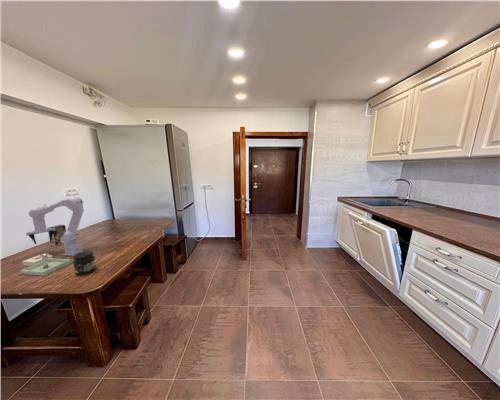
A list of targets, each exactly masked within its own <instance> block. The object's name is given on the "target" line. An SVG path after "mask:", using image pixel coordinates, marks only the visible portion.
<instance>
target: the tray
mask: <svg viewBox="0 0 500 400" xmlns="http://www.w3.org/2000/svg"><path fill="white" fill-rule="evenodd" d="M71 263H72V259H69V258H68V259H67V258H50V259H48V265H49V267H47V268H43V263H42V262H40V263H38V264H35V265H33V266H27V267H25V268H23V269H21V270H20V275H26V276H39V277H43V276H47V275H49V274H51V273H53V272H55V271H57V270H59V269H62V268H63V267H65V266H68V265H70V264H71Z"/></svg>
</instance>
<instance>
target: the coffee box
mask: <svg viewBox="0 0 500 400" xmlns="http://www.w3.org/2000/svg"><path fill="white" fill-rule="evenodd" d="M49 228H55V230H56V231H54V233H53V235H52V241H50V237H49V236H48V238H49V244H50V246H51V247H58V246H59V247H60V246H62V245H64V244H63V243H61V241H60V238H61V237H62V236H63V234H64V233H65V232H66V231H67V228H66V225H65V224H57V225H54V226H50V227H47V229H49ZM47 233H48V234H49V232H47Z"/></svg>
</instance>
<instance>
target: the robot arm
mask: <svg viewBox="0 0 500 400" xmlns="http://www.w3.org/2000/svg"><path fill="white" fill-rule="evenodd" d="M83 204H84V201H83V199H82V198H81V197H80V196H79V197H78V196H76V197H72V198H66V199H62V200H60V201H57V202H55V203H52V204H49V203H47V204H43V206H38V207H36V208H35V209H31V210H29V212H28V215H29V217H31V218H32V221H33V228H34V230H33V231H28V232H25V234H26V235H25V236H26V237H27V236H28V237H29V238H30V239H31V240H32V241H33V243H34V245H37V241H36V237H35V235H38V234H43V233H48V232H49V233H48V238H49V237H50V239H49V242H50V241H52V235H53V233H54V231H56V230H55V228H49V227H48V228H49V229H48V228H47V225H46V220H45V219H46V218H45V217H46V214H49V213H52V212H54V211H55V209H57V208H60V207H66V209H69V210H70V211H71V212H72V216H71V217H70V221H69V223H68V227H67V228H66V232H65V233H64V234H63V236H62V237H61V238H60V241H61V243H63V244H62V245H63V246H64V252H65V253H63V254H62V256H71V257H73V256H74V255H75V254H77V253H80V252H83V251H84V250H83V248H82V244H81V242H78V239H79V231H78V230H79V226H80V222H81V220H82V217H83V214H84V211H85V210H84V205H83Z"/></svg>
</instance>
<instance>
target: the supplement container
mask: <svg viewBox="0 0 500 400" xmlns="http://www.w3.org/2000/svg"><path fill="white" fill-rule="evenodd" d="M82 251H83V252H80V253H77V254H75V255H74V256H72V258H73V259H72V264H73V271H74V274H75V275H76V276H84V275H88V274H91V273H93V272H94V271H96V269H97V263H96V256H95V254H94V251H93V250H85V251H84V250H82Z"/></svg>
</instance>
